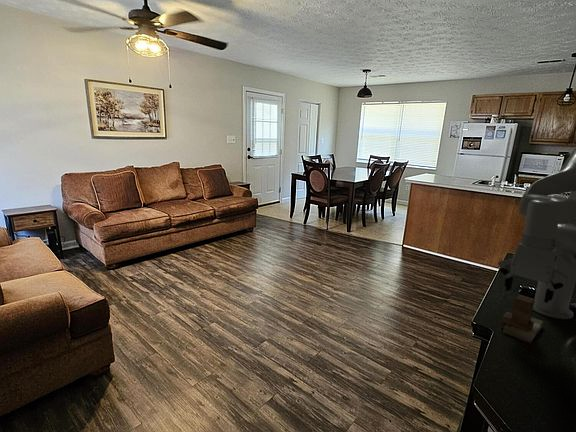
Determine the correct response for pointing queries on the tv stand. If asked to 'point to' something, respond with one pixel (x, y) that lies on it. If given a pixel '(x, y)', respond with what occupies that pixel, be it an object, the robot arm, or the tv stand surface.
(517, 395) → the tv stand surface
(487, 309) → the tv stand surface
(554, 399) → the tv stand surface
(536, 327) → the board
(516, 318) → the brown slider knob
